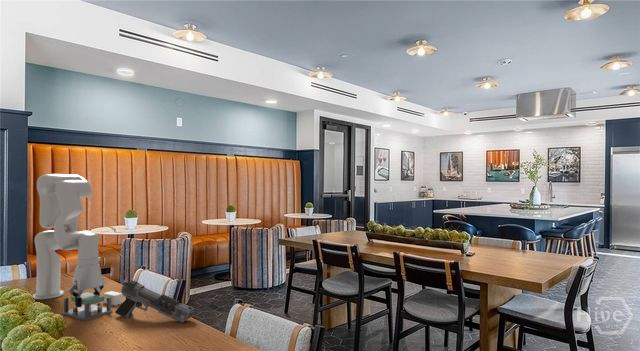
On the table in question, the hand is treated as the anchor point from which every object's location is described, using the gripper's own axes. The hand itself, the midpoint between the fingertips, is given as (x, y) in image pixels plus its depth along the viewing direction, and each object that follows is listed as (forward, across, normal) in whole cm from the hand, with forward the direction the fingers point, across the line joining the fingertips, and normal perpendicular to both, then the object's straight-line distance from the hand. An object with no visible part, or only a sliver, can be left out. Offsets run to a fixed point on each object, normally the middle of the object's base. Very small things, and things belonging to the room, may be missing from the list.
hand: (87, 303), depth 169 cm
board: (-1, 0, 0) cm, 1 cm away
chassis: (+4, 0, 0) cm, 4 cm away
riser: (+4, -14, -3) cm, 14 cm away
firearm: (+4, -9, +31) cm, 32 cm away
